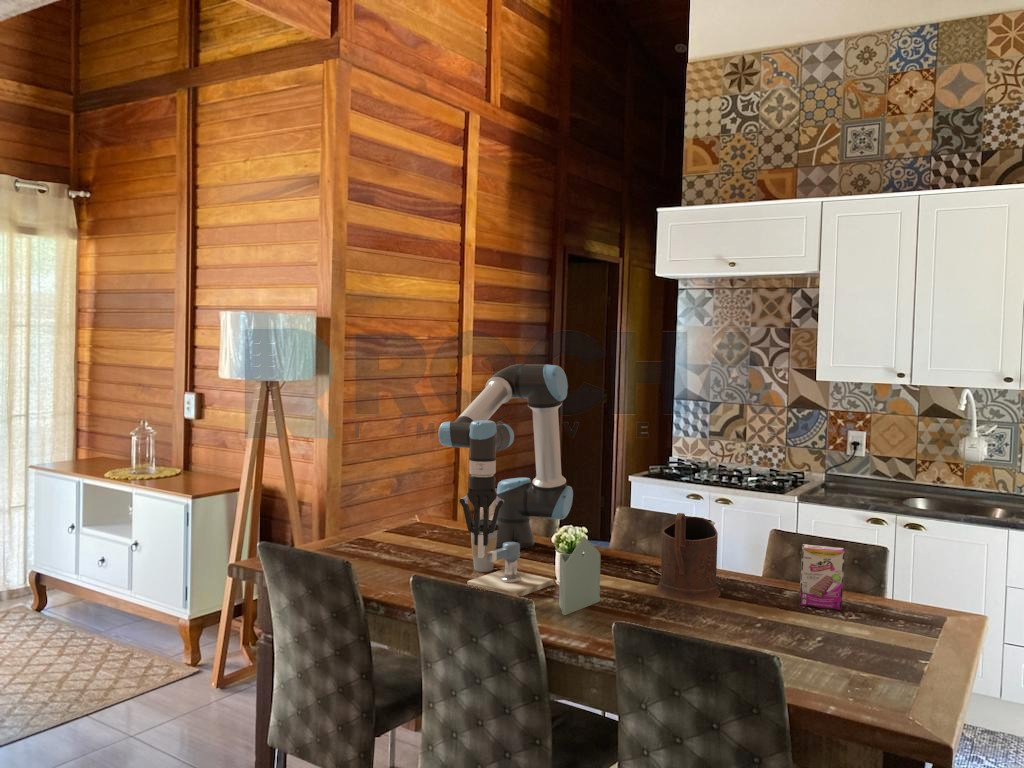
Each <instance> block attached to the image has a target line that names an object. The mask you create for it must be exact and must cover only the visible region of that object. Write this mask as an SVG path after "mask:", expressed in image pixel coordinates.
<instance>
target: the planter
mask: <svg viewBox="0 0 1024 768" xmlns="http://www.w3.org/2000/svg"><path fill="white" fill-rule="evenodd" d="M600 587H601V552H600V551H599V550H598V549H597V548H596V547H595V546H594V545H593V544H592V543H591V542H590V540H588V538H587V537H586V536H584V535H582V537H581V539H580V540H579V542H578V543H577V544H576V547H575V548H574V550H573V551H572V553H560V555H559V595H558V596H559V597H558V599H559V600H558V603H559V604H558V606H559V608H560V610H561V613H562V615H563V616H567V615H570V614H572V613H575V612H576V611H579V610H582V609H585V608H587V607H590V606H592V605H595V604H597V603H600V600H601V597H600V594H601V590H600Z"/></svg>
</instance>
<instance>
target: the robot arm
mask: <svg viewBox="0 0 1024 768" xmlns="http://www.w3.org/2000/svg"><path fill="white" fill-rule="evenodd" d="M568 383H569V382H568V378H567V375H566V373H565V371H564V369H563V368H562V367H561V366H559V365H555V364H540V363H539V364H537V363H533V364H529V363H528V364H527V363H516V364H511V365H509V366H507V367H505V368H502V369H500V370H499V371H497V372H496V373H494V374H493V375H492V376H491V377H490V378H489V379H488V380H487V381H486V383H485V385H484V389H483V390H482V391H481V392H480V393H479V394H478V395H477V396H476V398H475V399H473V401H472V402H470V404H469V405H468V406H467V407H466V408H465V409H464V411H462V413H461V414H459V416H458V417H457V418H456V419H455V420H454V421H450V420H449V421H444V422H442V423H441V424H440V426H439V428H438V433H437V437H438V441H439V443H440V444H441V446H443V447H449V448H459V449H460V448H461V449H462V448H463V449H469V463H468V464H469V465H468V466H469V467H468V472H469V474H470V475H469V477H468V492H467V493H466V496H464V497H461V498H460V499H459V503H460V505H461V507H462V508H463V514H464V518H465V523H466V527H467V531H468V532H469V533H471V532H472V533H474V544H475V545H478V558H483V557H484V551H485V546H487V545H488V534H490V533H493V532H494V530H495V527H496V523H497V525H498V526H499V529H498V530H497V543H496V548H498V549H501V548H503V543H505V542H517V543H519V544H520V550H524V549H528V548H532V547H534V546H535V537H534V533H533V530H532V527H531V519H530V518H539V519H541V518H542V519H548V520H552V521H553V520H564V519H566V518H567V517H568V515H569V513H570V511H571V508H572V505H573V499H574V498H573V497H574V490H573V487H572V486H570V485H567V479H566V478H565V477H564V476H563V475H562V461H561V459H562V458H561V441H560V440H561V439H560V425H559V424H560V423H559V408H560V407H561V406H562V405H563V401H564V400H565V399H566V398H567V396H568V389H569V384H568ZM512 399H526V401H527V407H528V408H529V409H530V410H532V423H533V424H532V425H533V426H532V427H533V439H534V456H535V457H534V458H535V471H536V472H535V478H533V479H531V478H530V477H515V478H514V477H512V478H507V479H501V481H499V482H498V483H497V487H496V476H495V474H496V473H497V470H496V467H497V466H496V465H497V464H496V463H497V460H496V457H497V452H498V451H503V450H505V449H507V448H509V447H510V446H511V445H512V444H513V443H514V440H515V432H514V430H513V429H512V427H511V426H510V425H509V424H506V423H496V422H495V420H494V421H493V420H490V419H491V417H492V416H493V415H494V414H495V413H496V411H497V410H499V408H500V407H501V406H502V405H503V404H506V403H508V402H509V401H510V400H512ZM496 488H497V489H496ZM494 501H495V503H494ZM470 502H471V504H472V505H473V507H474V508H473V510H474V518H472V515H471V514H472V513H471V510H470V506H469V503H470ZM493 503H494V504H495V507H494V508H495V509H494V512H493V514H492V515H493V516H492V519H491V520H492V523H491V527H490V528H489V520H490V506H492V504H493ZM481 508H482V511H483V515H482V516H483V533H479V532H480V520H481ZM472 521H474V527H473V523H472Z"/></svg>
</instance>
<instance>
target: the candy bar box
mask: <svg viewBox="0 0 1024 768" xmlns="http://www.w3.org/2000/svg"><path fill="white" fill-rule="evenodd" d="M801 549H802V550H801V567H800V584H799V585H800V586H799V606H805V607H813V608H820V609H830V610H837V611H842V609H843V607H842V606H843V595H844V594H843V592H844V591H843V590H844V589H843V587H844V574H845V573H844V571H845V568H844V567H845V549H844V547H835V546H827V545H826V546H825V545H823V546H822V545H815V544H806V543H805V544H804V543H803V544H802V548H801Z"/></svg>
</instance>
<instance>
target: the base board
mask: <svg viewBox="0 0 1024 768" xmlns="http://www.w3.org/2000/svg"><path fill="white" fill-rule="evenodd" d="M503 575H505V568H504V569H500V570H497V571H494V572H491V573H488V574H485V575H481V576H479V577H475V578H472V579H469V580H467V582H466V583H467V584H468V585H473V586H478V587H482V588H486V589H492V590H497V591H502V592H506V593H510V594H513V595H518V596H521V597H525V596H526V595H528V594H529V595H530V594H532V593H535V592H537V591H540V590H543V589H545V588H548V587H550V586H553V585H554V579H552V578H549V577H544V576H540V575H536V574H531V573H526V572H522V571H518V570H517V576H520V577H521V581H520V582H518V583H505V582H502V581H501V580H500V577H501V576H503Z"/></svg>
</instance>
